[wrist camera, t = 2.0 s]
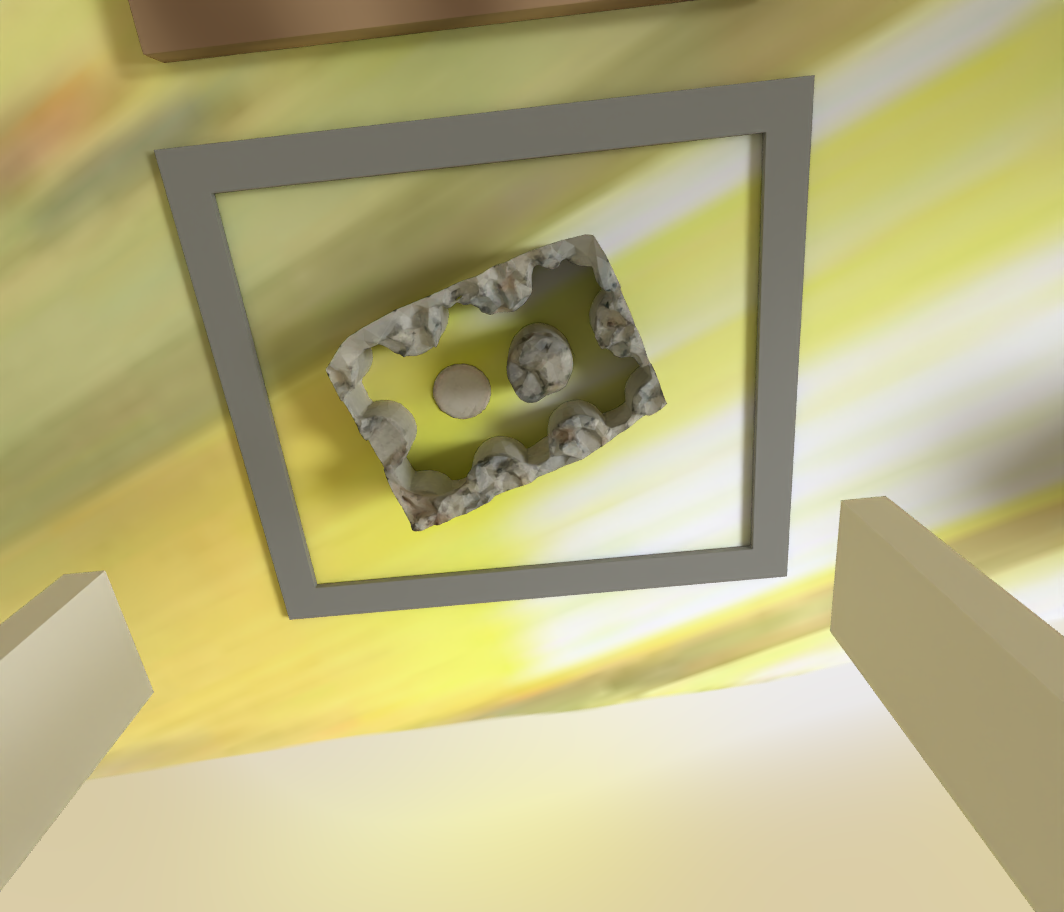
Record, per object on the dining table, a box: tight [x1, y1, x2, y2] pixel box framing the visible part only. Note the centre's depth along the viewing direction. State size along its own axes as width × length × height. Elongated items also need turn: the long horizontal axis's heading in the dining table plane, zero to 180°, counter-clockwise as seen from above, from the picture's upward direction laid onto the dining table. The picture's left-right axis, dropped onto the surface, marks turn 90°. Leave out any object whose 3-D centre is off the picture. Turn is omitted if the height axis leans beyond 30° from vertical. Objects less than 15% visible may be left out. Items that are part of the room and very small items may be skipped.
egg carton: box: [326, 235, 667, 531], centre depth 23 cm, size 11×8×4 cm
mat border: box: [154, 75, 815, 620], centre depth 24 cm, size 22×19×1 cm
